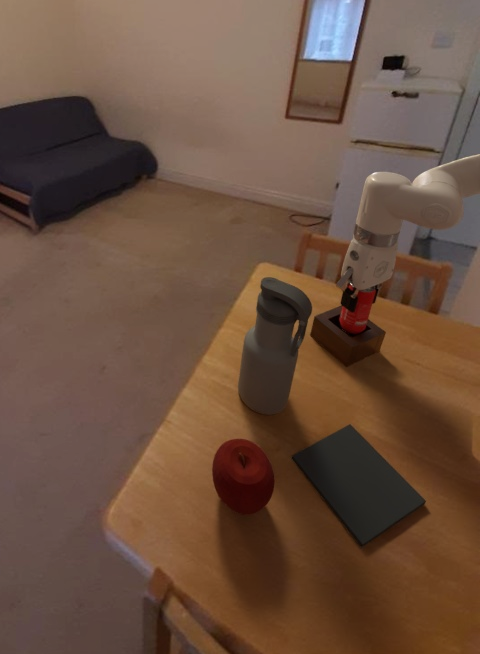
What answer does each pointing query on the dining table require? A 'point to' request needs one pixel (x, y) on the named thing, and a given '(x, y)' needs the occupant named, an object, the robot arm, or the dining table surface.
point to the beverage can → (358, 311)
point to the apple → (243, 476)
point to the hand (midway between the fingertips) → (357, 303)
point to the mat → (357, 484)
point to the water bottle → (273, 346)
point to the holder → (346, 338)
